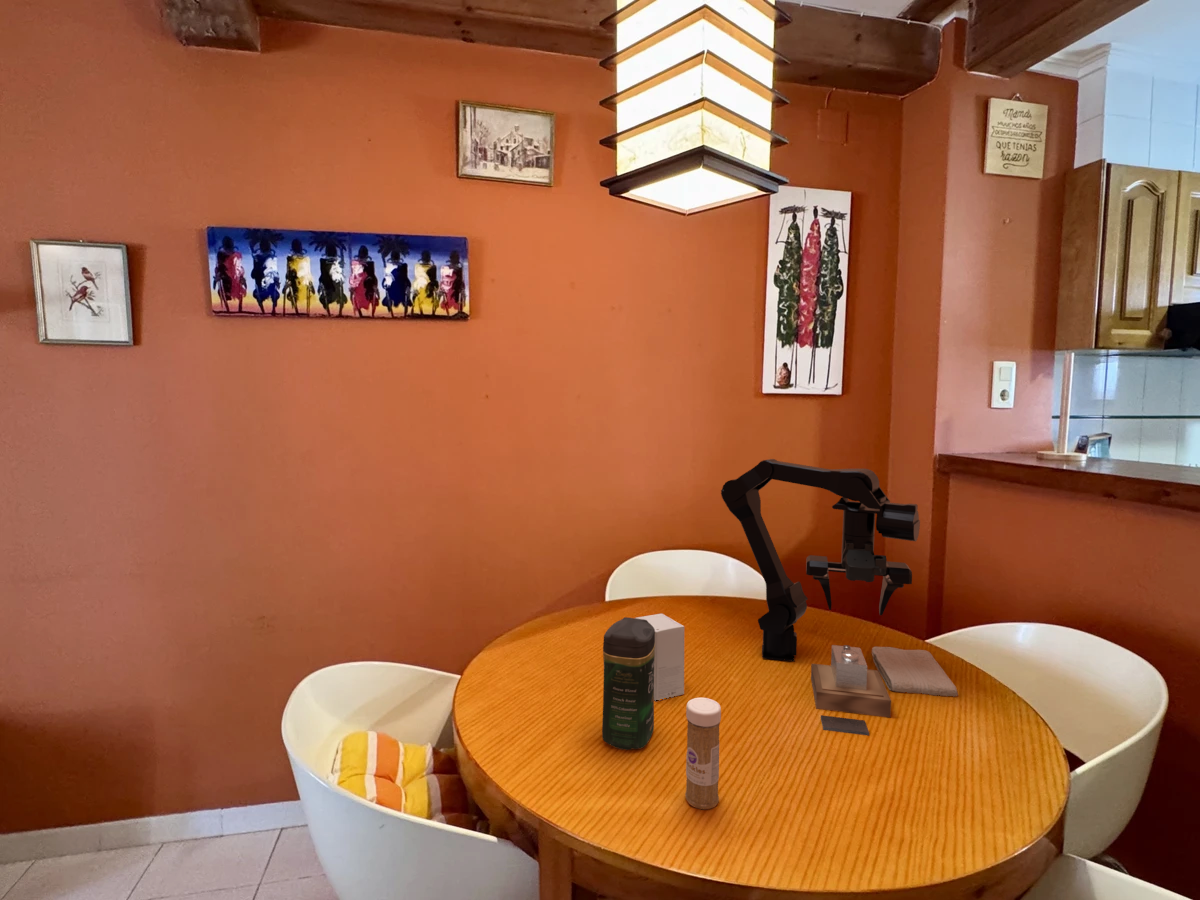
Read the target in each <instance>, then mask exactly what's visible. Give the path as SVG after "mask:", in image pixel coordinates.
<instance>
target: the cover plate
mask: <svg viewBox="0 0 1200 900" xmlns="http://www.w3.org/2000/svg"><path fill="white" fill-rule="evenodd" d="M820 722H821V726H822V730H823V731H828V732H836V733H837V732H838V733H846V734H854V735H862V736H870V731H869V729H868V725H867V723H866V720H864V719H858V718H857V719H856V718H850V717H849V718H848V717H838V716H829V715H822V714H820Z"/></svg>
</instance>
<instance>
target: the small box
mask: <svg viewBox="0 0 1200 900" xmlns="http://www.w3.org/2000/svg"><path fill="white" fill-rule="evenodd" d="M635 618H636V619H644V620H647V621H648V622H649V623H650V624H651V625H652V626H653V627H654V629H655V658H654V660H655V661H654V702H657V701H656V700H659V701H661V700H660V699H663V700H665V699H664V698H667V699H670V698H669V697H671V698H674V696H675V697H677V696H681V695H684V694H685V625H682V624H681V623H679V622H677V621H675V620H674V619H672V618H671V617H669V616H667V615H665V614H664V613H657V614H656V613H655V614H651V615H650V614H649V615H644V616H638V617H637V616H636V617H635Z"/></svg>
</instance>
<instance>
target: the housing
mask: <svg viewBox="0 0 1200 900" xmlns="http://www.w3.org/2000/svg"><path fill="white" fill-rule="evenodd" d="M830 655H831V659H830V660H831V661H830V662H831V663H830V666H831V670H832V673H833V677H834V681H835V685H836V687H840V688H849V689H858V690H866V686H867V669H868V665H867V664H868V663H867V662H866V659H865V657H864V654H863V651H862V649H861V647H857V646H856V647H855V646H850V645H847V644H844V645H836V644H832V645H831V654H830Z"/></svg>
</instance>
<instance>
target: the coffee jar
mask: <svg viewBox="0 0 1200 900" xmlns="http://www.w3.org/2000/svg"><path fill="white" fill-rule="evenodd" d="M636 618H637V617H627V616H625V617H623V618H622V619H619V620H618V621H616V622H615V623H613V624H612V625H610V626H609V628H608V629H607V630H606V631H605V633H604V635H603V643H602V644H603V645H602V646H603V647H602V655H603V690H602V691H603V694H602V695H603V697H602V719H601V720H602V723H601V725H602V727H601V728H602V729H601V737H602V740H603V742H605V743H606V744H608V745H610V746H612V747H613V748H616V749H618V750H624V749H625V750H626V751H628V750H638V749H643V748H645V746H647V744H648V743H649V742H650V740H651V738H652V735H653V733H654V727H655V700H654V661H655V660H654V658H655V629H654V627H653V626H652V625H651V624H650V623H649V622H648V621H647V620H644V619H636Z"/></svg>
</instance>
